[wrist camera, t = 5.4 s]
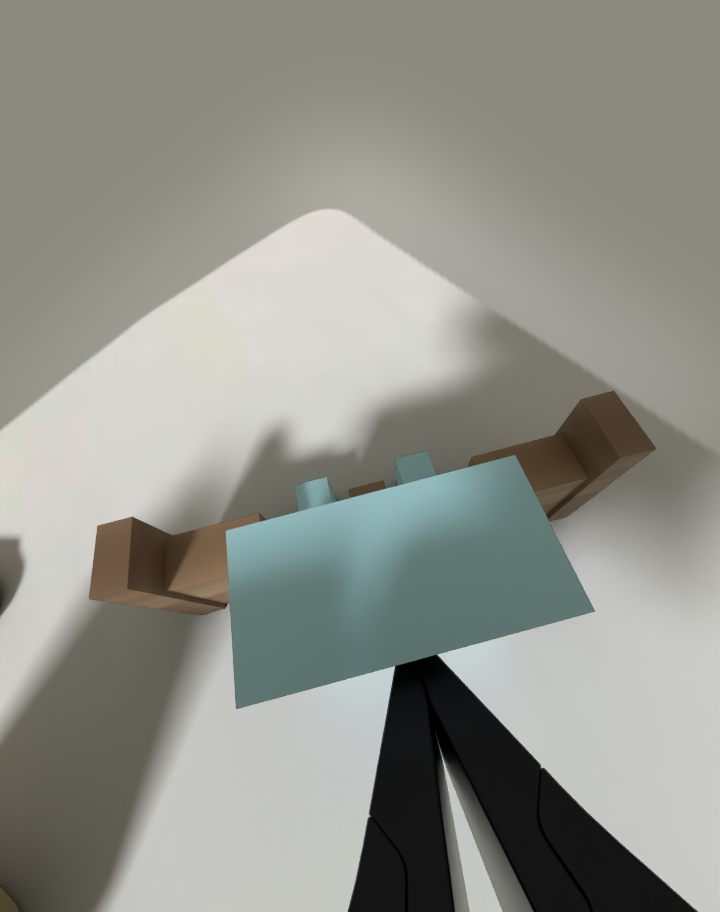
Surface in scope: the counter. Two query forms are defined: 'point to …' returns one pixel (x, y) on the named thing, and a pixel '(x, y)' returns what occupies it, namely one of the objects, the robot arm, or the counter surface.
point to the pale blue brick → (392, 576)
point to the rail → (205, 550)
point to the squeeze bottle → (7, 903)
